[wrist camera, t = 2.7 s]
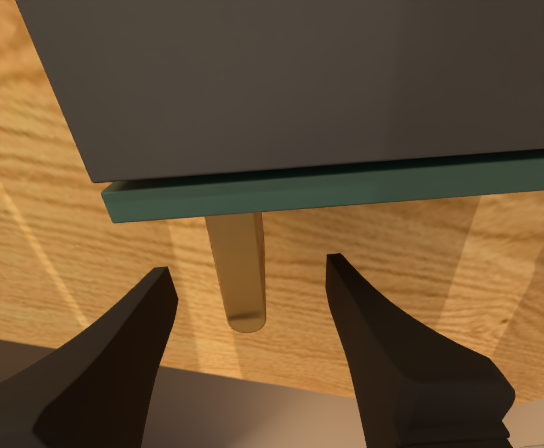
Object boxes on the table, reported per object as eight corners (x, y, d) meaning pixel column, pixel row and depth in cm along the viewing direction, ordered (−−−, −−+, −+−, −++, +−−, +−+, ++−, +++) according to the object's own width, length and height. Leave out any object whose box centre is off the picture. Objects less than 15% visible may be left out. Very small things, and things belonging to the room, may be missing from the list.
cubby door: (477, 214, 17) (641, 335, 9) (210, 235, 17) (172, 370, 9) (519, 92, 13) (821, 137, 6) (185, 118, 13) (99, 192, 6)
